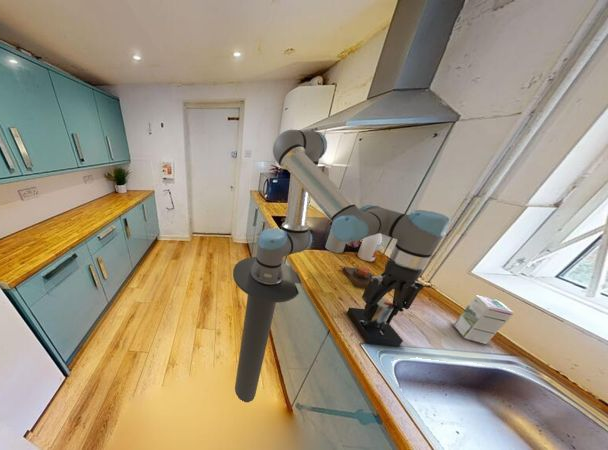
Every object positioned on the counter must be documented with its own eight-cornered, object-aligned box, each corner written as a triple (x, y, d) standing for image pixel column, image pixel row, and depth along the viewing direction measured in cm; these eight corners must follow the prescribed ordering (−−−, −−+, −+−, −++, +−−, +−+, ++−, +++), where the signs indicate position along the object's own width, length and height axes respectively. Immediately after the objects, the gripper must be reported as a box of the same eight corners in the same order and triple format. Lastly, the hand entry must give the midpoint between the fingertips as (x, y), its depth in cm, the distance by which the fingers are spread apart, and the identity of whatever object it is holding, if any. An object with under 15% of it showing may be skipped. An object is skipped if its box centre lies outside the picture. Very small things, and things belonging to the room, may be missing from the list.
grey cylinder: (333, 243, 124) (339, 226, 119) (347, 251, 116) (354, 233, 111) (321, 245, 121) (327, 228, 116) (334, 254, 113) (341, 235, 108)
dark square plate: (342, 270, 99) (344, 263, 98) (363, 272, 98) (366, 265, 97) (355, 287, 88) (358, 279, 87) (379, 289, 88) (383, 282, 86)
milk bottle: (365, 262, 106) (379, 229, 98) (353, 254, 113) (365, 222, 105) (377, 261, 107) (392, 228, 99) (365, 253, 114) (378, 222, 106)
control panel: (346, 313, 75) (349, 307, 74) (374, 316, 74) (377, 309, 73) (366, 343, 64) (369, 336, 63) (399, 346, 63) (403, 340, 62)
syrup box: (487, 344, 65) (517, 313, 59) (462, 338, 67) (489, 306, 61) (474, 330, 69) (500, 299, 63) (451, 324, 71) (475, 294, 65)
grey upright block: (369, 327, 66) (380, 307, 62) (362, 315, 70) (371, 295, 67) (386, 330, 65) (398, 309, 61) (377, 317, 70) (388, 298, 66)
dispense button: (355, 270, 94) (356, 266, 93) (364, 270, 94) (365, 267, 93) (360, 275, 90) (362, 271, 89) (369, 276, 90) (371, 272, 89)
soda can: (358, 245, 123) (365, 228, 118) (356, 249, 119) (363, 231, 114) (346, 241, 127) (353, 225, 122) (344, 245, 123) (350, 227, 118)
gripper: (430, 259, 59) (398, 314, 69) (364, 252, 62) (342, 306, 72) (454, 275, 53) (414, 333, 62) (378, 266, 56) (351, 323, 65)
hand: (375, 319), depth 67 cm, fingers closed on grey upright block, 5 cm apart
